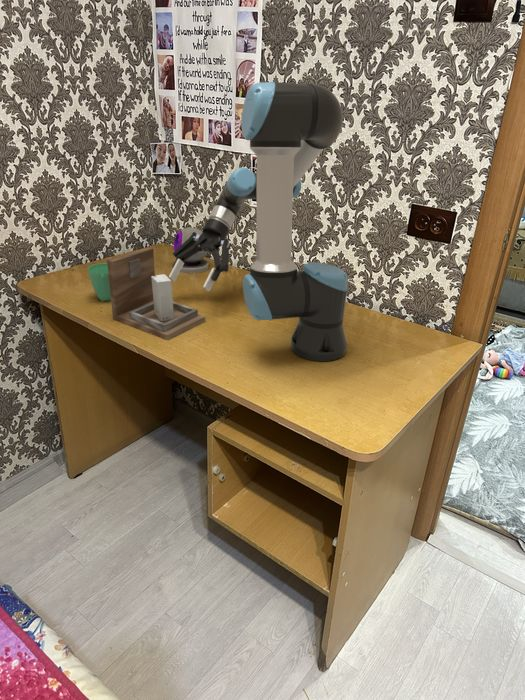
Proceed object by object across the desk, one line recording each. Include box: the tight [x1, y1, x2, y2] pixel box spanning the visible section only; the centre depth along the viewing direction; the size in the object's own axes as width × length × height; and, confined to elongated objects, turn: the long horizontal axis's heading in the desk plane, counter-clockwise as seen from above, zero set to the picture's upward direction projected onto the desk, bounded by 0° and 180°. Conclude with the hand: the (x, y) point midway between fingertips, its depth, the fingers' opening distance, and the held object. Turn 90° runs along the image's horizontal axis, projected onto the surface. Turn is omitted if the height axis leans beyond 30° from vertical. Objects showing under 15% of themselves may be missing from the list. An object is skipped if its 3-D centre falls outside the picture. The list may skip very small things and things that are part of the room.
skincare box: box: [151, 273, 174, 321], centre depth 153 cm, size 6×4×12 cm
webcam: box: [173, 226, 210, 274], centre depth 196 cm, size 13×13×15 cm
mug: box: [87, 262, 111, 302], centre depth 169 cm, size 15×10×10 cm
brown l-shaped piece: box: [106, 247, 206, 341], centre depth 153 cm, size 22×16×18 cm
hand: (188, 284), depth 160 cm, fingers open, 13 cm apart
